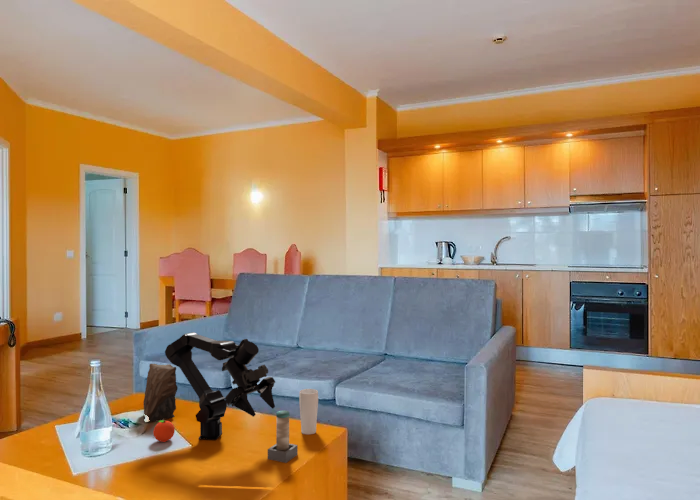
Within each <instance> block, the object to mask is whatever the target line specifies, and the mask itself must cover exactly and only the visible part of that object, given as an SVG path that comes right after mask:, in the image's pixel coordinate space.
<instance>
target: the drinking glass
mask: <svg viewBox="0 0 700 500" xmlns="http://www.w3.org/2000/svg"><path fill="white" fill-rule="evenodd" d="M298 397H299V399H298V400H299V401H298V402H299V413H300V414H299V417H300V426H301V427H300V430H301V434H303V435H315V434H316V432H317V421H318V419H317V418H318V411H319V392H318V390H317V389H314V388H304V389H301V390H299V396H298Z"/></svg>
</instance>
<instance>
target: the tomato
mask: <svg viewBox="0 0 700 500" xmlns="http://www.w3.org/2000/svg"><path fill="white" fill-rule="evenodd" d="M153 427H154V428H153V436H154V439H155V440H157V441H158V442H160V443H164V442H168V441H170V440H171V439H172V438H173V437H174V434H175V430H176V428H175V426H174V424H173V423H172V422H171V421H170V420H165V419H164V420H158V421H155V423H154V425H153Z"/></svg>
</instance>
